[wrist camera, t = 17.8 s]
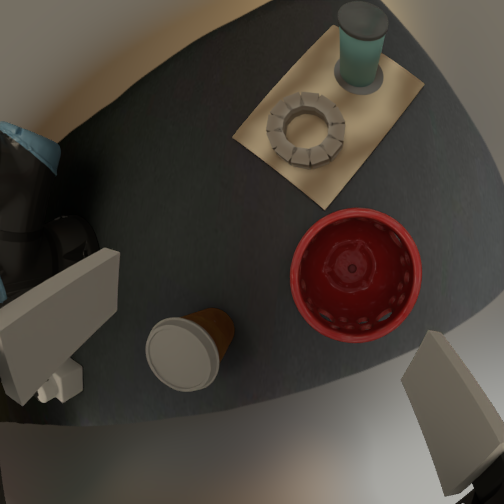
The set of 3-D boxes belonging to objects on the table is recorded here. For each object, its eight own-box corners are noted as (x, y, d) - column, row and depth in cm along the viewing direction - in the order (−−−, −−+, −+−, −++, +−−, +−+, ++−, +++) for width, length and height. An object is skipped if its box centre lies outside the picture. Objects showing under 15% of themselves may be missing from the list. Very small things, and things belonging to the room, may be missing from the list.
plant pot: (407, 295, 36) (434, 322, 25) (316, 322, 40) (309, 359, 28) (382, 200, 36) (403, 189, 25) (288, 230, 40) (270, 232, 28)
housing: (234, 138, 40) (224, 131, 37) (333, 28, 35) (332, 13, 31) (324, 210, 38) (324, 208, 34) (423, 86, 33) (430, 75, 29)
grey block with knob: (63, 375, 56) (27, 394, 44) (62, 350, 55) (23, 368, 43) (83, 390, 54) (47, 412, 42) (83, 366, 53) (43, 387, 41)
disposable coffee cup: (258, 326, 42) (231, 361, 30) (221, 368, 44) (187, 408, 33) (207, 283, 43) (165, 303, 32) (175, 328, 46) (131, 356, 34)
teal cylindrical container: (331, 71, 35) (327, 17, 22) (354, 51, 34) (357, -5, 21) (360, 94, 34) (369, 44, 22) (383, 73, 33) (397, 20, 20)
